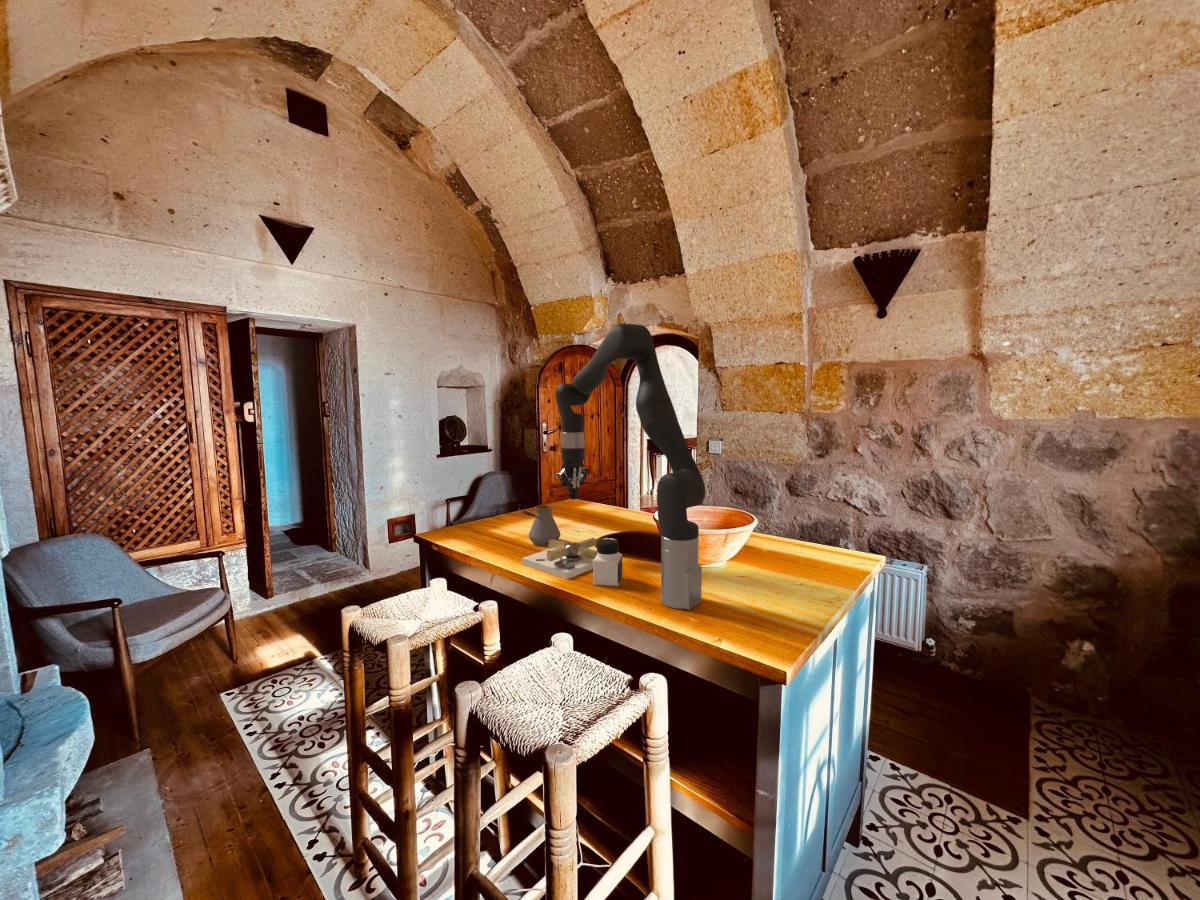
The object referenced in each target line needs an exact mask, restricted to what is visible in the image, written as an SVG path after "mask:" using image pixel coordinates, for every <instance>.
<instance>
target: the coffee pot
mask: <svg viewBox="0 0 1200 900" xmlns="http://www.w3.org/2000/svg"><path fill="white" fill-rule="evenodd" d="M553 509H554V507H553V506H552V505H537V506H535V507H534V510H535V511H536V513H535V514H534V513H532V512H530V511H527V510H522V511H520V512H519V514H518V515H519V517H521V518H524V517H525V516H526V515H527V516H528V517H533V518H534V520H533V523H532V526H531V527H530V530H529V532H528V535H527V537H528V539H529V540H530V541H531V542H532V543H533V544H534V545H535V546H536V545H537V546H549V540H551V539H554V540H558V541H559V539H560V537H561V532H560V529H559V527H558V525H557V523H556V521H555V518H554V516H553V514H552V510H553ZM521 513H522V514H524V516H521Z"/></svg>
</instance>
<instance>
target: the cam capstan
mask: <svg viewBox="0 0 1200 900" xmlns="http://www.w3.org/2000/svg"><path fill="white" fill-rule="evenodd" d="M548 547H549V548H550V549H551V548H555V549H557V550H554V551H551V552H548V553H547V560H548V561H553V560H556V559H559V558H560V560H562V561H568V562H572V561H578V560H581V559H582V556H583V557H587V558H590V559H595V557H596V556H597V550H595V549H591V548H593V547H597V538H595V537H591V538H587V539H584V540H581V541H578V542H577V541H576V542H575V541H570V540H567V539H565V540H563V541H561V540H559V539H558V540H554V539H551V540H549V545H548Z"/></svg>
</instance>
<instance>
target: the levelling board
mask: <svg viewBox="0 0 1200 900" xmlns="http://www.w3.org/2000/svg"><path fill="white" fill-rule="evenodd" d="M554 550H557V549H555V548H551V547H550V548H549V549H545V550H542V551H539V552H536V553H533V554H530V555H527V556H525V557H524V556H523V557H522V558H521V564H522V565H524V566H526V567H529V568H532V569H534V570H538V571H541V572H544V573H547V574H550V575H554V576H556V577H560V578H561V579H566V580H568V579H571V578H574V577H576V576H578V575H582V574H584V573H586V572H588V571H592V570H593V560H594V559H590V558H587V557H583V556H582V559H581V560H578V561H572V562H568V561H562V560H560V558H559V559H556V560H553V561H548V560H547V553H548V552H551V551H554Z"/></svg>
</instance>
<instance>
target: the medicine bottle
mask: <svg viewBox="0 0 1200 900" xmlns="http://www.w3.org/2000/svg"><path fill="white" fill-rule="evenodd" d="M619 547H620V545H619V541H618V540H617V539H615V538H610V537H609V538H608V537H605V538H601V539H599V540H597V541H596V551H597V556H596V557H595V559H594V560H593V569H592V570H593V571H592V573H593V574H592V576H593V577H592V579H593V581H592V582H593V585H594V586H605V587H606V586H608V587H619V586H620V583H621V581H622V579H623V554H622V553H620V552H619Z"/></svg>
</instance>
